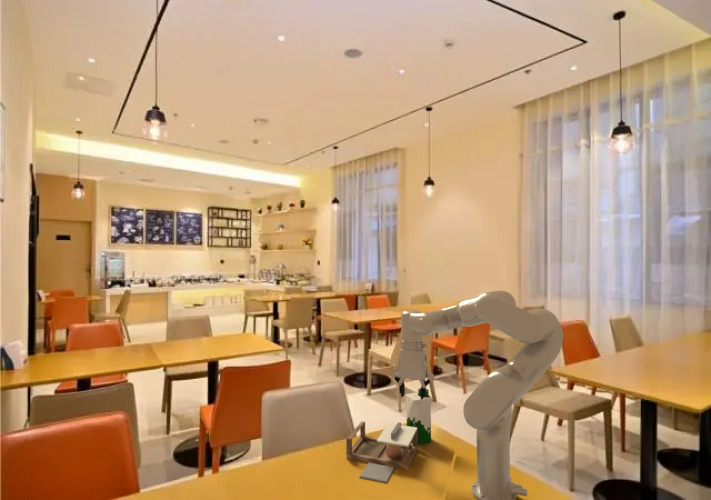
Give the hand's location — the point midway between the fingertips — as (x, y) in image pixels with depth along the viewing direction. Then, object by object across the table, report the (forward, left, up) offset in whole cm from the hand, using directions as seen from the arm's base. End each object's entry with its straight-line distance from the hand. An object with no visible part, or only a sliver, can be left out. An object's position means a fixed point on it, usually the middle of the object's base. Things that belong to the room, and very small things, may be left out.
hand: (412, 396), depth 141 cm
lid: (+6, 0, -14) cm, 15 cm away
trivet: (+9, +13, -23) cm, 28 cm away
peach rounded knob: (+7, 0, -22) cm, 23 cm away
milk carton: (+1, -15, -23) cm, 27 cm away
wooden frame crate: (+11, 0, -23) cm, 25 cm away
